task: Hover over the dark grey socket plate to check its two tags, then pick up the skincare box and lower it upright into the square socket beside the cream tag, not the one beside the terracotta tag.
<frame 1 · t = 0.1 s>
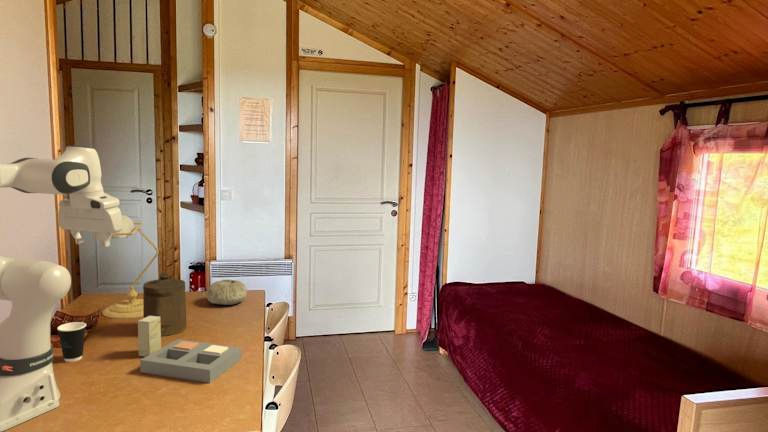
hand: (92, 244, 149), 39 cm above the table, tool pointing down, fingers open, 8 cm apart
socket plate: (192, 365, 157), on the table
dixie cup: (73, 359, 159), on the table
desk lamp: (131, 310, 208), on the table
decorative shell: (226, 303, 223), on the table
skincare box: (150, 354, 165), on the table
brown metal canister: (165, 330, 187), on the table
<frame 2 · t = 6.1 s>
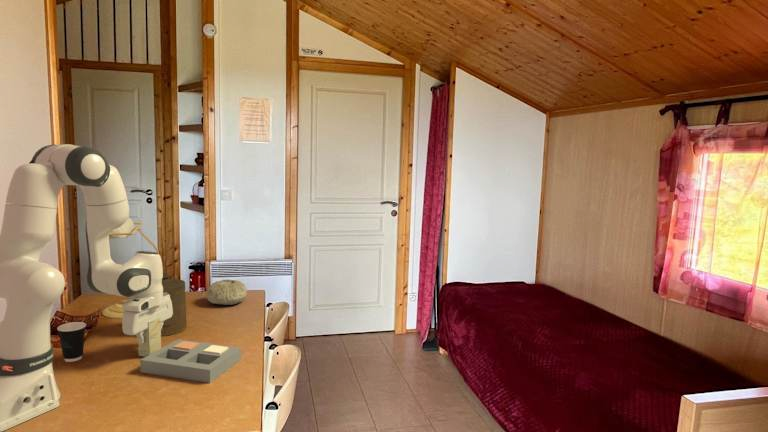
hand: (149, 338, 164), 5 cm above the table, tool pointing down, fingers closed on skincare box, 6 cm apart
skincare box: (150, 353, 165), on the table, touching gripper
everything else where it was.
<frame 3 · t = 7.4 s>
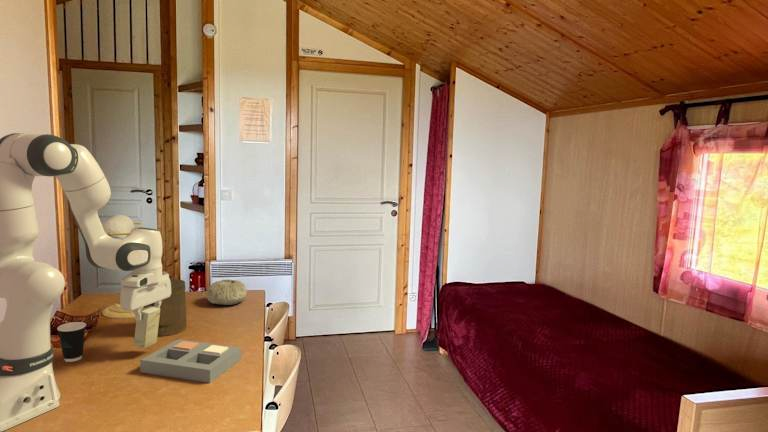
hand: (147, 316, 163), 13 cm above the table, tool pointing down, fingers closed on skincare box, 6 cm apart
skincare box: (145, 344, 164), point 3 cm above the table, touching gripper
everything else where it was.
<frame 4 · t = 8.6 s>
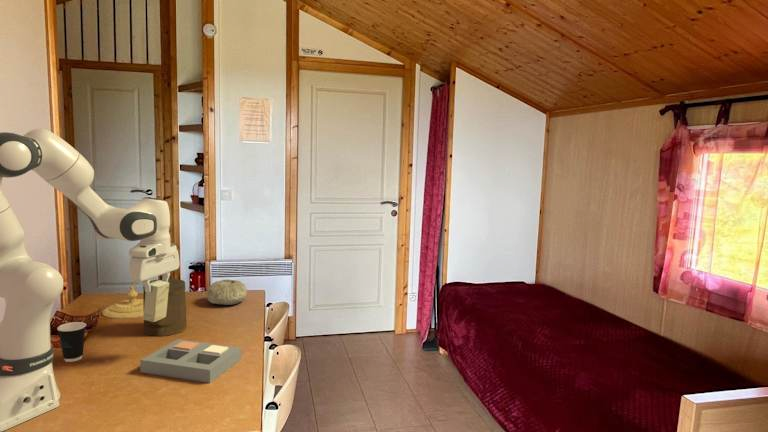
hand: (156, 288, 160), 23 cm above the table, tool pointing down, fingers closed on skincare box, 6 cm apart
skincare box: (154, 318, 162), point 13 cm above the table, touching gripper
everything else where it was.
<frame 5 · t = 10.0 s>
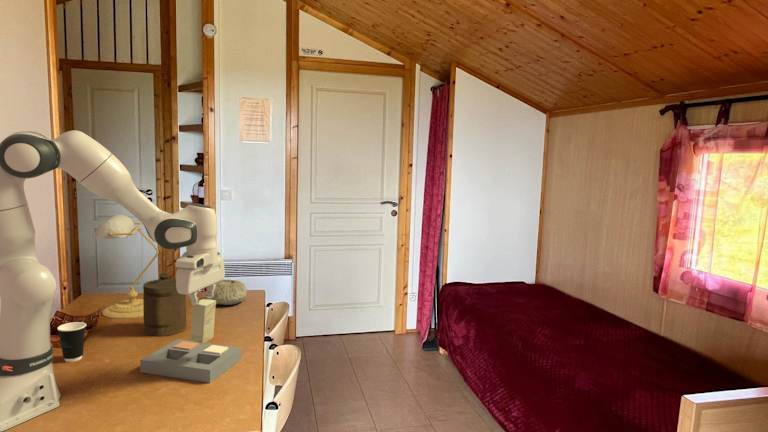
hand: (202, 301, 150), 23 cm above the table, tool pointing down, fingers closed on skincare box, 6 cm apart
skincare box: (201, 339, 152), point 10 cm above the table, touching gripper
everything else where it was.
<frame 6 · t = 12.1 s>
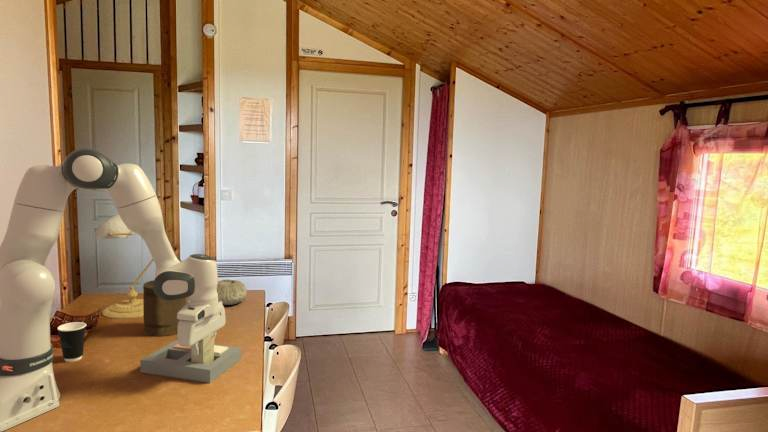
hand: (203, 349, 152), 7 cm above the table, tool pointing down, fingers closed on skincare box, 6 cm apart
skincare box: (202, 371, 153), resting in socket plate, touching gripper
everything else where it was.
when the fingers open (7 cm above the table, at t = 13.0 s): skincare box stays where it is, resting in socket plate.
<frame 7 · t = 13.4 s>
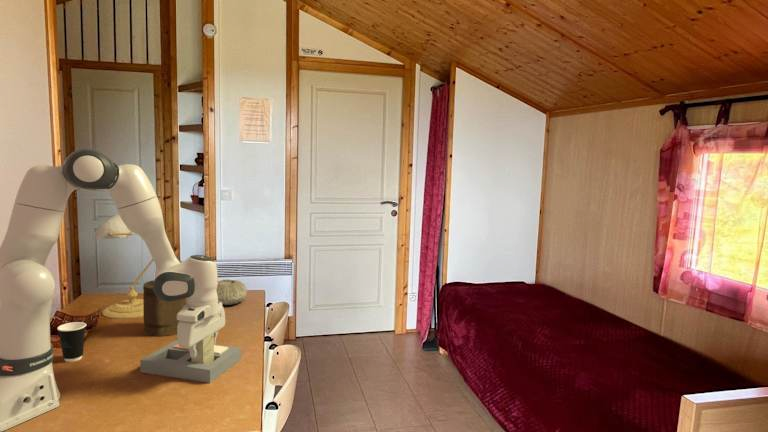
hand: (203, 350, 152), 7 cm above the table, tool pointing down, fingers open, 8 cm apart
skincare box: (203, 371, 153), resting in socket plate
everything else where it was.
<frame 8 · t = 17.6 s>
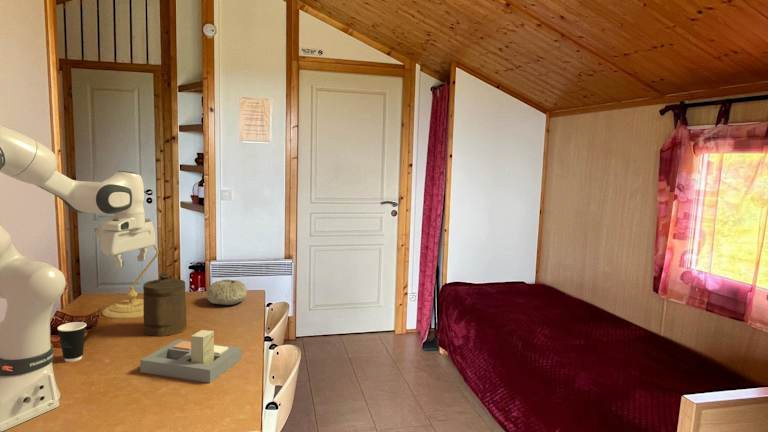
hand: (130, 263, 159), 31 cm above the table, tool pointing down, fingers open, 8 cm apart
nothing on the table moved.
at the end: skincare box 0.4 cm from the target spot on the socket plate, point 0.0 cm above the socket plate's base; skincare box tilted 0°; the gripper is holding nothing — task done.
